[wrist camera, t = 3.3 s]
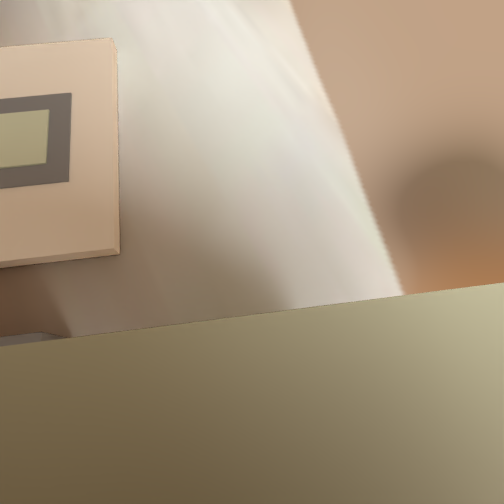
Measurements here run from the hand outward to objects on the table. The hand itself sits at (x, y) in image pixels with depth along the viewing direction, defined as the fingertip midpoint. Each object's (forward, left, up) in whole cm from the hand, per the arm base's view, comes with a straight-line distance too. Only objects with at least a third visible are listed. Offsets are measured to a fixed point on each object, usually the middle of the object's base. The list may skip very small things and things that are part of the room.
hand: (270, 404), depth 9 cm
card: (+13, +10, -7) cm, 17 cm away
